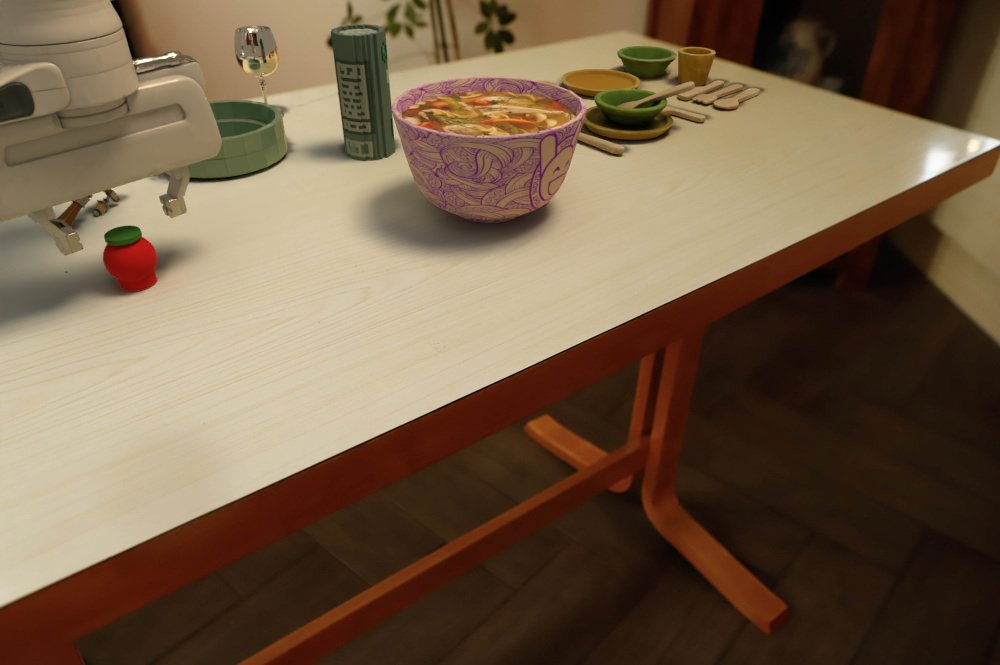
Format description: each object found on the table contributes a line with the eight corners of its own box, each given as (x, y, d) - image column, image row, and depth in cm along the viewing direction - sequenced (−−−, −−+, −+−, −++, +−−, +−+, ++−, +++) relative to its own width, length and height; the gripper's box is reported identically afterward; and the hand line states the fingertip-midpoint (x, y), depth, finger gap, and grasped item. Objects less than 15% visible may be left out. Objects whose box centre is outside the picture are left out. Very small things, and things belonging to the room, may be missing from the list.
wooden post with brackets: (129, 194, 81) (105, 164, 77) (87, 249, 77) (60, 221, 73) (116, 191, 81) (91, 162, 77) (74, 246, 77) (46, 218, 74)
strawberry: (104, 283, 67) (86, 233, 64) (150, 266, 69) (134, 217, 66) (126, 300, 64) (108, 249, 61) (172, 281, 67) (158, 232, 64)
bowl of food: (600, 242, 74) (611, 131, 67) (404, 256, 71) (395, 143, 65) (556, 167, 90) (561, 72, 83) (395, 177, 87) (387, 80, 81)
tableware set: (615, 161, 92) (620, 112, 88) (466, 111, 108) (465, 68, 104) (772, 93, 116) (781, 52, 112) (631, 61, 132) (635, 24, 128)
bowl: (137, 159, 92) (125, 120, 89) (245, 128, 101) (238, 92, 99) (200, 193, 83) (190, 151, 80) (312, 156, 93) (306, 117, 90)
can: (402, 146, 96) (393, 26, 87) (379, 162, 91) (366, 37, 83) (362, 140, 98) (349, 22, 89) (338, 155, 93) (321, 33, 84)
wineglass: (294, 117, 105) (280, 30, 98) (255, 125, 102) (238, 36, 96) (280, 107, 109) (265, 23, 102) (242, 114, 106) (225, 28, 100)
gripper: (177, 40, 64) (213, 186, 72) (-91, 92, 52) (-12, 261, 60) (215, 52, 61) (248, 204, 69) (-62, 111, 48) (17, 288, 56)
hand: (126, 231), depth 64 cm, fingers open, 8 cm apart
